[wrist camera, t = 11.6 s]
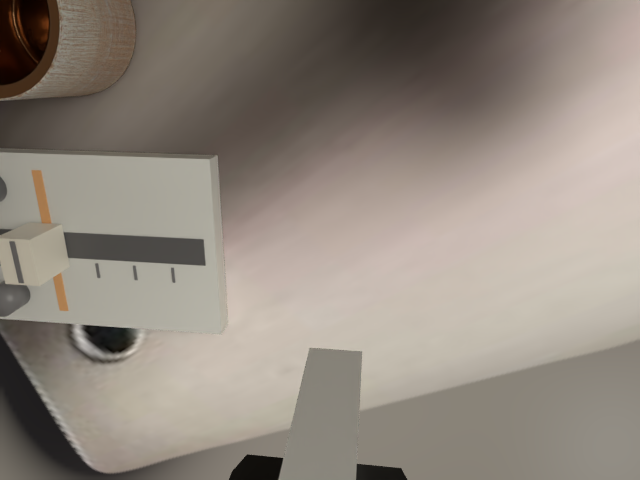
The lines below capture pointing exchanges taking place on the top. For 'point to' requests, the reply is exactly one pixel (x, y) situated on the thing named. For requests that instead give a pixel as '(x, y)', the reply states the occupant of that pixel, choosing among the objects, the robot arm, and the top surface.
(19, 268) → the fader
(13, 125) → the top surface
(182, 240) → the console
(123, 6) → the planter
